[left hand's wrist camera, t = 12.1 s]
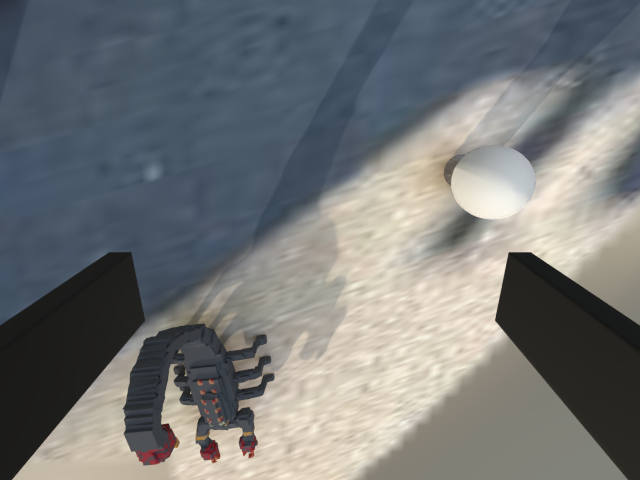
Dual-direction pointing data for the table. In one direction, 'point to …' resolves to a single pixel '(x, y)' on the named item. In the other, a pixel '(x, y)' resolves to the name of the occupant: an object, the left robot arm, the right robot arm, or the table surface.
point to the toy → (202, 381)
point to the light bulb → (491, 181)
